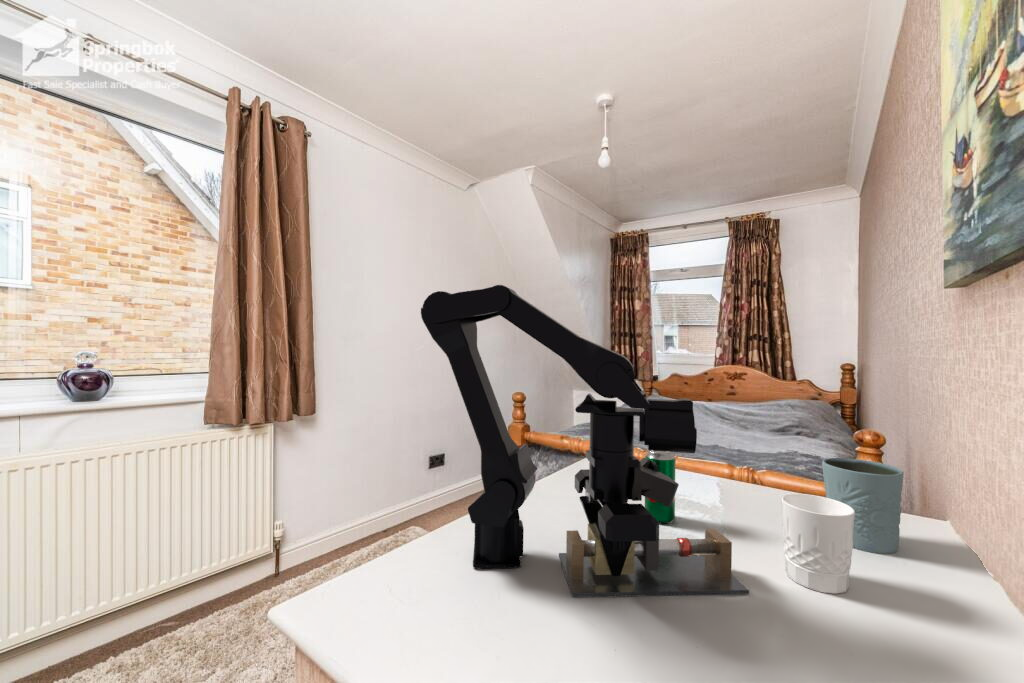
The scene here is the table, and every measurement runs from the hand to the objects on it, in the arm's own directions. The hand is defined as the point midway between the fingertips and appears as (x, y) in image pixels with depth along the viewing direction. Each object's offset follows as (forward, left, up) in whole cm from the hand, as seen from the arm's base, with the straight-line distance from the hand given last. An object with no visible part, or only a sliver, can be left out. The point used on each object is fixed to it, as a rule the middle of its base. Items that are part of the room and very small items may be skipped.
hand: (609, 564), depth 57 cm
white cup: (+27, -2, -2) cm, 27 cm away
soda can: (+14, +18, -2) cm, 23 cm away
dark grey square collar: (+5, 0, 0) cm, 5 cm away
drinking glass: (+43, +9, -2) cm, 44 cm away
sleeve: (0, 0, 0) cm, 0 cm away
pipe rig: (+5, 0, -1) cm, 5 cm away
